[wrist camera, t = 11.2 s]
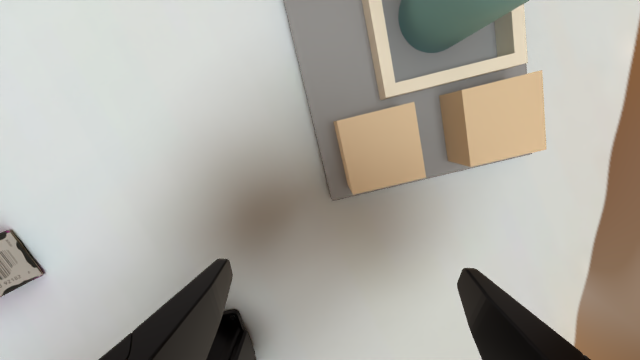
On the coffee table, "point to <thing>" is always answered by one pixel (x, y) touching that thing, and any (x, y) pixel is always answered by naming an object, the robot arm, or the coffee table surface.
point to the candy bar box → (15, 264)
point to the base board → (411, 95)
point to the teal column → (448, 20)
